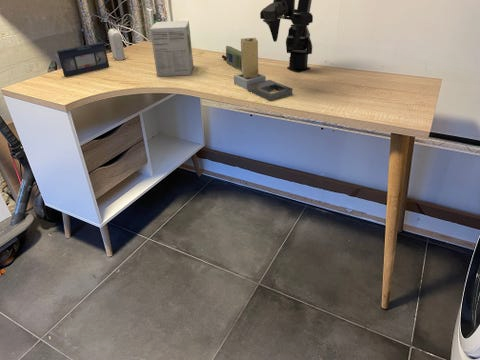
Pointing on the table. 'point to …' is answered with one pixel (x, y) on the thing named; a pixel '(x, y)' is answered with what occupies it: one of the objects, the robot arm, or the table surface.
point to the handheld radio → (233, 57)
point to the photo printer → (116, 44)
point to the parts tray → (248, 80)
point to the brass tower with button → (249, 57)
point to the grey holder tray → (269, 85)
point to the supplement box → (172, 48)
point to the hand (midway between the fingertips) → (284, 43)
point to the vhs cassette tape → (83, 59)
